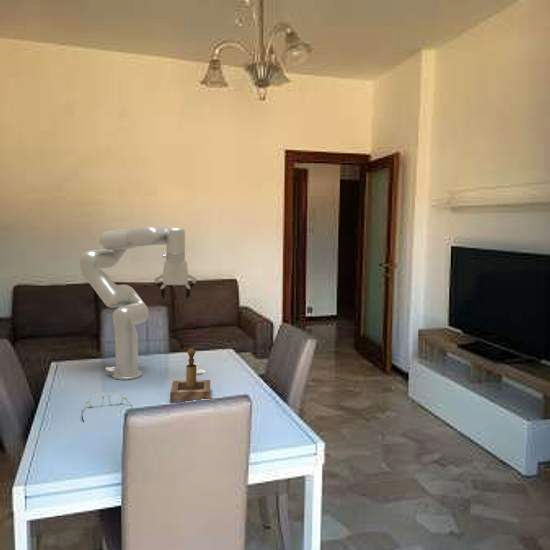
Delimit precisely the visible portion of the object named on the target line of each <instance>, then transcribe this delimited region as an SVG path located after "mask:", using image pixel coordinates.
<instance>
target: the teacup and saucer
mask: <svg viewBox="0 0 550 550" xmlns="http://www.w3.org/2000/svg"><path fill="white" fill-rule="evenodd" d="M193 364H194V365H196V375H203V374H205V373H206V370H204V369H201V364H200V363H199V362H194V363H193Z"/></svg>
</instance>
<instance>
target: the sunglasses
mask: <svg viewBox="0 0 550 550" xmlns="http://www.w3.org/2000/svg"><path fill="white" fill-rule="evenodd" d="M114 394H117V395H120V396H121V397H122V399H121V402H119V404H120V405H122V403H123V401H124V400H126V401H127V403H128V404H129V405H130V407H131V410H132V409H133V410H134V408H133V405H132V404H131V402H130V401H129V399H128V397H126V396H125V397H123V394H121V393H120V392H113V393H111V394H110V395H100V394H99V393H96V394H93V395H91V396H90V398H89V399H88V400H85V401H84V405H83V407H82V410H81V413H84V409H85V406H86V404H88V403H89V407H90V408H93V406H92V404H90V401H91V399H92V398H93V397H94V396H95V397H96V396H100V397H101V399H102V402H101V404H100V405H99V407H102V405H103V404H104V400H105V399H104V397H108V398H107V399H108V403H109V404H110V405H111V406H113V404H112V403H111V401H110V398H111V396H113V395H114ZM81 418H82V419H81V420H82V422H83V423H85V420H84V416H83V415H81Z"/></svg>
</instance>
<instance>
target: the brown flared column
mask: <svg viewBox="0 0 550 550" xmlns="http://www.w3.org/2000/svg"><path fill="white" fill-rule="evenodd" d="M187 354H188V356H189V359H188V360H187V361H188V364H187V365H186V366H185V367H186V368H185V371H186V372H185V373H186V375H185V377H186V379H185V380H186V385H185V386H184V387H183V390H200V387H199V386H198V385H196V380H197V374H196V365H194V363H195V359H194V356H195V355H196V349H195V348H194V347H190V348H188V349H187Z"/></svg>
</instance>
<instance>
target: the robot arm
mask: <svg viewBox="0 0 550 550" xmlns="http://www.w3.org/2000/svg"><path fill="white" fill-rule="evenodd" d="M99 244H100V246H101V247H102V248H103V249H102V248H101V249H91V250H87V251H85V252H83V253H82V254H81V256H80V258H79V270H80V273H81V275H82V276H83V278H84V279H85V280H86V281H87V282H88V284H89V285H90V286H91V287H92V289H93V290H94V291H95V293H96V294H97V295H98V296H99V298H100V299H101V300H102V302H103V303H104V305H105V306H106V307H108V308H116V309H115V310H114V311H113V312H112V313H113V314H112V323H113V328H114V336H115V337H114V340H115V342H114V343H115V344H114V345H115V347H114V348H115V366H105V372H107V373H111V375H112V376H111V377H112V379H115V380H120V381H121V380H123V381H124V380H135V379H138V378H140V377H142V376H143V375H142V371H141V370H139V341H138V340H139V336H138V332H137V329H136V327H135V326H136V325H139V324H143V323H144V322H146V321H147V320H148V318H149V315H150V312H149V309H148V306H147V305H146V304H145V301H143V300H142V298H141V297H140V296H139V294H138V293H137V291H135V289H134V288H133V287H132V286H130V285H128V284H116V283H115V282H114V281H113V280H112V278H111V277H110V276H109V274H107V273H106V272H104V271H103V270H102V269H106V268H107V269H108V268H112V267H114V266H116V264H117V263H118V262H119V261H120V259H121V258H122V257H123V255H124V254H125V253H126V252H127V250H129V249H135V248H137V247H144V246H147V247H148V246H164V245H166V248H165V249H166V253H165V254H163V255H162V259H166V260H164V262H163V270H162V274H160V275H159V276H157V277H155V278H154V282H155V284H156V285H157V287H158V288H159V289H160V291H161V293H160V294H161V295H160V297H161V298H162V299H163V300H164V299H166V286H185V287H186V290H185V293H186V297H185V298H186V300H187V299H189V298H190V297H191V289H192V287H194V285H195V284H196V282H197V280H198V279H197V277H195V276H192V275H190V274H189V271H188V270H189V269H188V262H187V260H186V230H185V229H184V228H183V227H167V226H146V227H145V226H144V227H136V228H133V227H132V228H122V229H113V230H107V231H104V232H103V233H102V234H100V237H99ZM161 279H162V283H163V284H162V283H161V282H160V280H161ZM189 279H190V280H191V281H192V282H191V283H190V284H189Z"/></svg>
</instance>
